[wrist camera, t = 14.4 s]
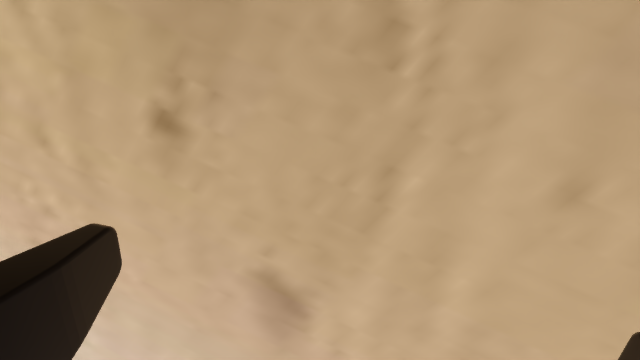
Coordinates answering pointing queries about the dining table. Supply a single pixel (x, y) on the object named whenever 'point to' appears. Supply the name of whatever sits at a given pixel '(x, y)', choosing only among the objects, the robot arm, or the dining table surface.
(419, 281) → the dining table surface
